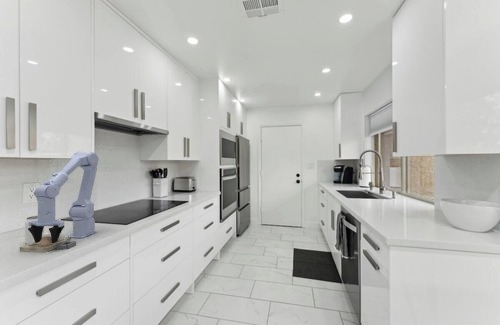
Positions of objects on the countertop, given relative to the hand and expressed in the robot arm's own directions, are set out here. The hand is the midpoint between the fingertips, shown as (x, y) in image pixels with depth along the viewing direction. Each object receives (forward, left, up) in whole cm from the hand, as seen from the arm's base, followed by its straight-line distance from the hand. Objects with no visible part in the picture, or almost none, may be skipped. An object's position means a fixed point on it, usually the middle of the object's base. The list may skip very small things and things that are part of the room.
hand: (46, 242), depth 97 cm
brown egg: (0, 0, 0) cm, 0 cm away
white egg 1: (-6, -6, 0) cm, 8 cm away
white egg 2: (-6, 0, 0) cm, 6 cm away
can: (-8, -14, -3) cm, 16 cm away
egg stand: (-3, +7, -3) cm, 8 cm away
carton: (-3, -3, -3) cm, 5 cm away
